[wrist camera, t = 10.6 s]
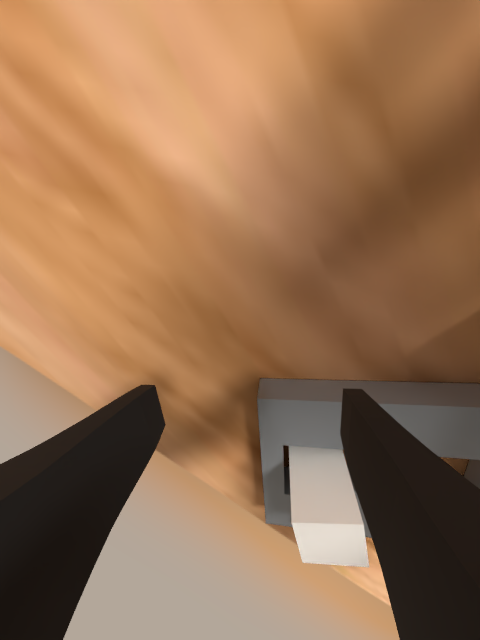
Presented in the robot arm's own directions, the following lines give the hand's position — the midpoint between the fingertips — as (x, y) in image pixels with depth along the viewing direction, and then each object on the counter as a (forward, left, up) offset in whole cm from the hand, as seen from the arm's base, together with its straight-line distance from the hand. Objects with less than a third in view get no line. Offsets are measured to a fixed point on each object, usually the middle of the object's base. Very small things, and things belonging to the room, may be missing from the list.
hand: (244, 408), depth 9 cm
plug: (-4, +12, -9) cm, 15 cm away
